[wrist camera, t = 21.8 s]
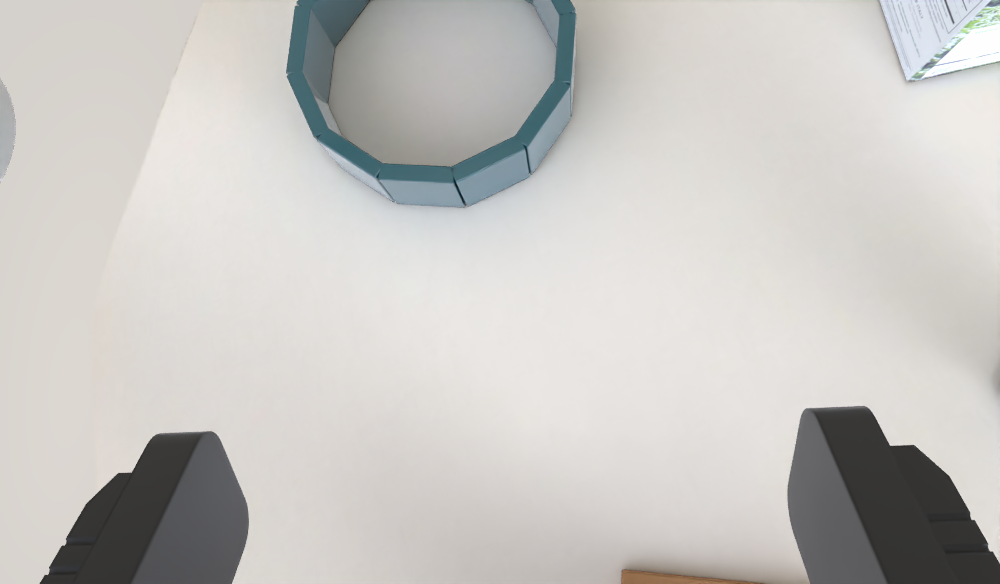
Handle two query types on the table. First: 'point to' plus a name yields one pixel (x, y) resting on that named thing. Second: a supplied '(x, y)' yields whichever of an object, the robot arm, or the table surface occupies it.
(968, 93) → the table surface
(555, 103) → the faceted teal band
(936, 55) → the syrup box
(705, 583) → the cork coaster
